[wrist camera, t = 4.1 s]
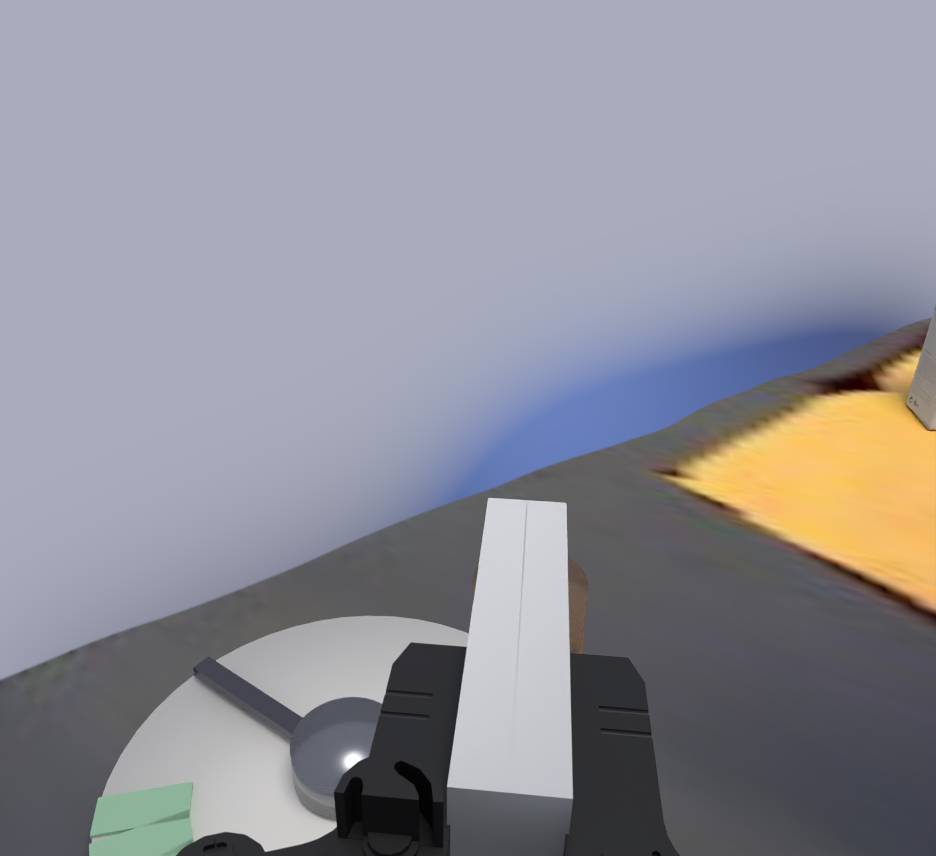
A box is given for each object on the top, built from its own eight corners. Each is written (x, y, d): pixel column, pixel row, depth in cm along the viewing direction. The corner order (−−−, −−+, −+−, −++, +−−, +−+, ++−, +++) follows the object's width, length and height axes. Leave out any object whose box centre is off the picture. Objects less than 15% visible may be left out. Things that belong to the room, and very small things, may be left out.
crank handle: (162, 701, 40) (101, 438, 33) (240, 645, 44) (200, 398, 37) (519, 961, 29) (538, 649, 22) (584, 858, 33) (617, 561, 26)
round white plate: (343, 594, 51) (341, 567, 50) (664, 760, 40) (670, 729, 39) (-2, 852, 35) (-15, 819, 34) (370, 1252, 24) (366, 1220, 23)
